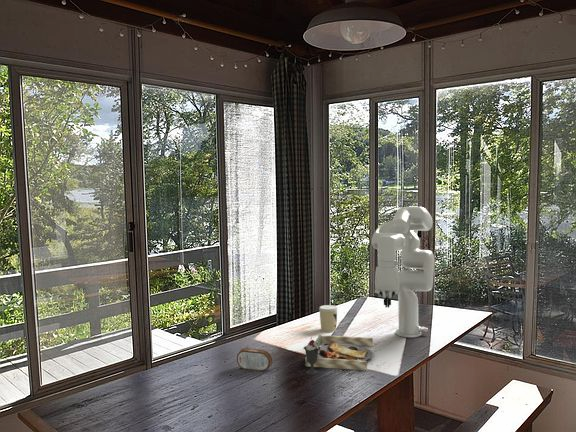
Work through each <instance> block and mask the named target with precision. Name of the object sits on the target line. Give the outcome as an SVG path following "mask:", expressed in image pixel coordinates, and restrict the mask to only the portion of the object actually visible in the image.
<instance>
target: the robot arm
mask: <svg viewBox="0 0 576 432" xmlns="http://www.w3.org/2000/svg"><path fill="white" fill-rule="evenodd" d="M433 224H434V221H433V218H432V215H431V214H430V212H429V211H428V210H427V209H426V208H425V207H422V206H402V207H400V208H399V209H397V211H396V213H395V214H394V216H393V218H392V220H390V221H387V222H385V223H383V224H381V225H379V226H378V227H377V228H376V229H375V231H374V233H373V235H372V237H371V245H372V247H373V248H374V249H375V250H377V266H376V267H375V274H374V277H375V279H374V293H375V294H378V295H380V296H381V297H382V298H383V306H385V308H390V306H392V298H393V296H395V295H397V298H398V299H397V300H398V303H397V304H398V306H397V307H398V308H397V309H398V328H397V329H396V330H395V331H394V333H395V335H397V336H398V337H403V338H418V337H420V336H422V333H428V332H429V328H428V327H426V326H420V323H419V299H418V296H417V294H416V293H415V292H429V291H431V290H432V289H433V286H434V273H435V256H434V253H433V251H432V250H429V249H420V246H421V245H420V244H421V239H420V238H419V236H418V235H417V234H416V233H415V232H417V231H418V232H419V231H422V232H427V231H431V229H432V228H433ZM397 251H401V254H400V255H401V257H400V261H397V256H396V255H397ZM400 263H401V266H402V267H403V268H406V269H415V270H401V271H399V267H397V266H399V265H400ZM418 269H419V270H418ZM417 270H418V271H417ZM420 270H421V271H420ZM422 270H423V271H422ZM387 292H388V296H387V294H386V293H387Z"/></svg>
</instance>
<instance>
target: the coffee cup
mask: <svg viewBox="0 0 576 432" xmlns="http://www.w3.org/2000/svg"><path fill="white" fill-rule="evenodd" d="M318 310H319V318H320V328H321V329H320V330H321V332H323V331H324V332H323V333H333V331H334V332H336V331H337V320H338V307H337V306H336V305H332V304H326V305H325V304H324V305H321V306H319V308H318Z"/></svg>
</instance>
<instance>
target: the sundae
mask: <svg viewBox="0 0 576 432" xmlns="http://www.w3.org/2000/svg"><path fill="white" fill-rule="evenodd" d="M312 338H313V337H310V339H309V342H308V343H307V345H305V346H304V347H303V350H304V351H305V357H306V358H307V362H308V363H310V364H311V367H310V369H309V370H306V372H305V373H306V374H307V375H308V376H309V375H310V376H314V375H318V374H319V371H318V370H316V369H315V367H314V364H315V363H316V362H317V358H318V350H320V347H321V346H317V343H316V342H315V341H316V340H314V339H312Z"/></svg>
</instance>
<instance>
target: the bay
mask: <svg viewBox="0 0 576 432" xmlns="http://www.w3.org/2000/svg"><path fill="white" fill-rule="evenodd" d="M314 341H315V342H316V343H317V346H319V347H321V346H322V344H326V345H330V344H331V343H332V342H335V343H336V344H341V343H342V344H343V343H344V344H352V345H353V344H354V345H360V346H364V347H374V343H373V337H365V336H364V337H361V336H347V335H346V336H345V335H342V336H341V335H326V334H325V335H324V334H318V336H317V338H316V339H315V340H314ZM304 361H305V365H304V367H310V368H311V364H310V363H308V362H307V358H306V356H305V357H304ZM314 368H324V369H339V370H357V371H367V370H368V361H367V360H365V361H362V359H358V360H346V359H330V358H318V357H317V362H316V363H315V364H314Z"/></svg>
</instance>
